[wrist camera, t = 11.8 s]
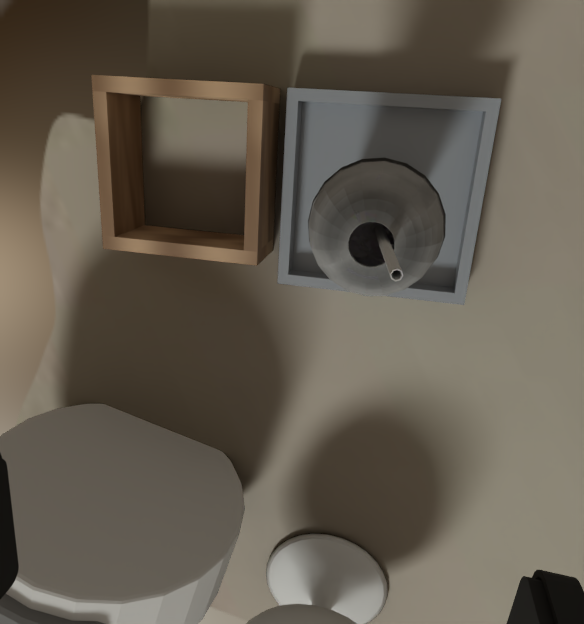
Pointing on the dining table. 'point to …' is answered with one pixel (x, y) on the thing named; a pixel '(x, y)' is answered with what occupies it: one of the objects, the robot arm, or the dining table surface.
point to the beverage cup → (376, 226)
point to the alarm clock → (116, 520)
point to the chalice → (323, 583)
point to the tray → (394, 145)
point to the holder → (129, 169)
